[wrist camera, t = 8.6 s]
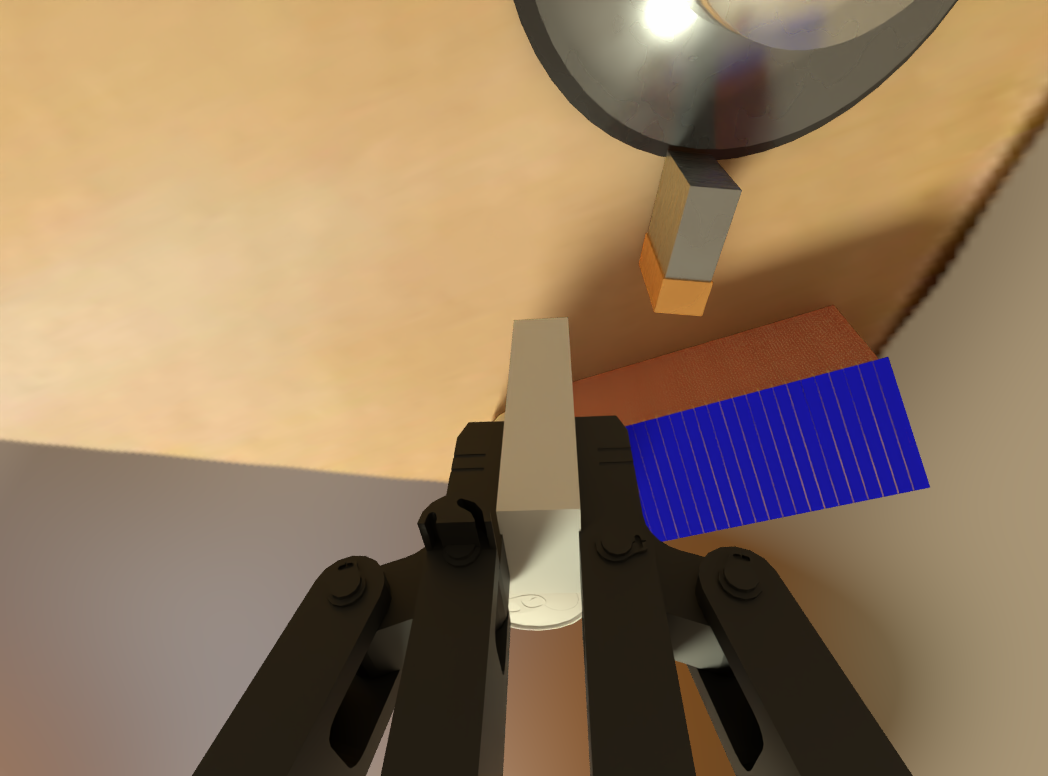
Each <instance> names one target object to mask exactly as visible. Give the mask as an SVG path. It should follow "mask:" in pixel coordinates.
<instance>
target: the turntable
mask: <svg viewBox="0 0 1048 776" xmlns="http://www.w3.org/2000/svg"><path fill="white" fill-rule="evenodd" d="M954 2H955V0H914V1H913V2H912V3H910V4H909V5H908V6H907V7H906V8H904V9H903V10H902V11H900V12H899V13H897V14H896V15H895V16H893V17H892V18H890V19H889V20H887V21H886V22H884V23H883V24H881V25H879V26H877V27H875V28H874V29H872V30H870V31H868V32H866V33H865V34H863V35H860V36H858V37H855V38H853V39H851V40H848V41H846V42H843V43H839V44H836V45H832V46H829V47H825V48H818V49H811V50H785V49H779V48H773V47H769V46H766V45H763V44H761V43H758V42H755V41H752V40H750V39H748V38H745V37H743V36H740V35H738V34H735V33H733V32H730V31H728V30H725V29H723V28H720V27H718V26H715V25H713V24H711V23H710V22H708V21H706V20H704V19H702V18H701V17H700V16H698V15H697V14H696V13H695V12H693V11H692V10H691V9H690V8H689V7H688V6H687V5H686V3H685V2H684V1H683V0H536V4H537V7H538V10H539V13H540V16H541V18H542V21H543V23H544V25H545V27H546V30H547V32H548V34H549V36H550V39H551V41H552V43H553V45H554V47H555V49H556V50H557V52H558V54H559V55H560V57H561V59H562V60H563V62H564V64H565V65H566V67H567V69H568V70H569V72H570V73H571V74H572V76H573V77H574V78H575V79H576V81H577V82H578V83H579V84H580V86H581V87H582V88H583V90H584V91H585V92H586V93H587V94H588V95H589V96H590V97H591V98H592V99H593V100H594V101H595V102H596V103H597V104H598V105H599V106H600V107H601V108H603V109H604V110H605V111H606V112H607V113H608V114H610V115H611V116H613V117H614V118H616V119H617V120H618V121H620V122H621V123H623V124H624V125H626V126H627V127H629V128H631V129H633V130H635V131H637V132H639V133H641V134H643V135H645V136H647V137H649V138H653V139H656V140H659V141H662V142H665V143H668V144H671V145H676V146H682V147H688V148H695V149H729V148H738V147H746V146H751V145H755V144H760V143H764V142H768V141H772V140H775V139H778V138H781V137H783V136H786V135H789V134H791V133H794V132H797V131H799V130H802V129H804V128H806V127H808V126H810V125H812V124H814V123H816V122H818V121H820V120H822V119H824V118H826V117H828V116H830V115H831V114H833V113H834V112H836V111H838V110H839V109H841V108H842V107H844V106H845V105H847V104H849V103H850V102H852V101H853V100H855V99H857V98H858V97H859V96H860V95H862V94H863V93H864V92H866V91H867V90H868V89H869V88H871V87H872V86H873V85H875V84H876V83H877V82H878V81H880V80H881V79H882V78H884V77H885V76H886V75H887V74H888V73H889V72H890V71H891V70H892V69H894V68H895V67H896V66H897V65H898V64H899V63H900V62H901V61H902V60H903V59H904V58H905V57H906V56H908V55H909V54H910V53H911V52H912V51H913V50H914V49H915V48H916V46H917V45H918V44H919V43H920V42H921V41H922V40H923V39H924V38H925V37H926V35H927V34H928V33H929V32H930V31H931V30H932V29H933V28H934V27H935V26H936V24H937V23H938V22H939V21H940V20H941V18H942V17H943V16H944V15H945V13H946V12H947V11H948V9H949V8H950V7H951V6H952V4H953V3H954ZM741 192H742V190H741V189H740V188H739V187H738V185H737V184H736V183H735V182H734V181H733V180H732V178H731V177H730V176H729V175H728V174H727V173H726V171H725V170H724V169H723V168H722V167H721V166H720V164H719V163H718V162H717V161H716V160H715V158H714V157H713V156H712V155H711V154H703V153H692V152H680V151H669V150H667V154H666V158H665V162H664V166H663V170H662V175H661V179H660V183H659V187H658V192H657V196H656V200H655V204H654V208H653V213H652V217H651V221H650V225H649V229H648V233H646V235H645V239H644V243H643V248H642V252H641V256H640V260H639V266H640V269H641V272H642V275H643V278H644V282H645V285H646V288H647V291H648V294H649V297H650V301H651V304H652V307H653V310H654V312H656V313H668V314H681V315H693V316H702V314H703V311H704V308H705V306H706V303H707V300H708V297H709V294H710V291H711V288H712V285H713V282H712V277H713V274H714V271H715V268H716V265H717V262H718V259H719V256H720V253H721V251H722V248H723V245H724V242H725V239H726V236H727V233H728V230H729V227H730V224H731V221H732V218H733V215H734V212H735V209H736V206H737V203H738V200H739V198H740V195H741Z"/></svg>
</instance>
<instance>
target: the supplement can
mask: <svg viewBox="0 0 1048 776" xmlns="http://www.w3.org/2000/svg"><path fill="white" fill-rule="evenodd" d="M504 420H505V412H504V413H502V414H501V415H499V416H498V417H497V418H496V420H495V421H504ZM508 608H509V614H510V620H511V626H510V627H512V628H517V629H522V630H549V629H557V628H560V627H564V626H567V625H570V624H573V623H574V622H576V621H577V620H579V619H580V618H582V602H581V593H546V594H511V591H510V588H509V604H508Z"/></svg>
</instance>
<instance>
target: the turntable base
mask: <svg viewBox="0 0 1048 776" xmlns="http://www.w3.org/2000/svg"><path fill="white" fill-rule="evenodd" d="M957 1H958V0H955V2H954V3H953V4H952V6H951V7H950V8H949V9H948V11H947V12H946V13H945V15H944V16H943V17H942V18H941V20H940V21H939V22H938V23H937V24H936V26H935V27H934V28H933V29H932V30H931V31H930V32H929V33H928V34H927V35H926V37H925V38H924V39H923V40H922V41H921V42H920V43H919V44H918V45H917V46H916V48H915V49H914V50H913V51H912V52H911V53H910V54H909V55H908V56H906V57H905V58H904V59H903V60H902V61H901V62H900V63H899V64H898V65H897V66H896V67H895V68H894V69H892V70H891V71H890V72H889V73H888V74H887V75H886V76H885V77H884V78H882V79H881V80H880V81H878V82H877V83H876V84H875V85H873V86H872V87H871V88H869V89H868V90H867V91H866V92H864V93H863V94H862V95H860V96H859V97H858V98H857V99H855V100H853V101H852V102H850V103H849V104H847V105H845V106H844V107H842V108H841V109H839V110H838V111H836V112H834V113H833V114H831V115H830V116H828V117H826V118H824V119H822V120H820V121H818V122H816V123H814V124H812V125H810V126H808V127H806V128H804V129H802V130H799V131H797V132H794V133H791V134H789V135H786V136H783V137H781V138H778V139H775V140H772V141H768V142H764V143H760V144H755V145H751V146H746V147H738V148H729V149H695V148H688V147H682V146H676V145H671V144H668V143H665V142H662V141H659V140H656V139H653V138H649V137H647V136H645V135H643V134H641V133H639V132H637V131H635V130H633V129H631V128H629V127H627V126H626V125H624V124H623V123H621V122H620V121H618V120H617V119H616V118H614V117H613V116H611V115H610V114H608V113H607V112H606V111H605V110H604V109H603V108H601V107H600V106H599V105H598V104H597V103H596V102H595V101H594V100H593V99H592V98H591V97H590V96H589V95H588V94H587V93H586V92H585V91H584V90H583V88H582V87H581V86H580V84H579V83H578V82H577V81H576V79H575V78H574V77H573V76H572V74H571V73H570V72H569V70H568V69H567V67H566V65H565V64H564V62H563V60H562V59H561V57H560V55H559V54H558V52H557V50H556V49H555V47H554V45H553V43H552V41H551V39H550V36H549V34H548V32H547V30H546V27H545V25H544V23H543V21H542V18H541V16H540V13H539V10H538V7H537V4H536V0H514V3H515V6H516V9H517V12H518V15H519V18H520V21H521V24H522V26H523V28H524V30H525V33H526V35H527V37H528V39H529V41H530V43H531V46H532V48H533V50H534V52H535V54H536V56H537V57H538V59H539V61H540V62H541V64H542V65H543V67H544V69H545V70H546V72H547V73H548V75H549V77H550V78H551V80H552V81H553V82H554V84H555V85H556V86H557V87H558V89H559V90H560V91H561V92H562V93H563V95H564V96H565V97H566V98H567V100H568V101H569V102H570V103H571V104H572V105H573V106H574V107H575V108H576V109H577V110H578V111H579V112H580V113H582V114H583V115H584V116H585V117H586V118H587V119H588V120H589V121H590V122H591V123H593V124H594V125H596V126H597V127H599V128H600V129H602V130H603V131H604V132H606V133H607V134H609V135H610V136H612V137H614V138H616V139H618V140H620V141H622V142H624V143H626V144H628V145H630V146H632V147H634V148H636V149H639V150H642V151H645V152H649V153H652V154H655V155H658V156H663V157H666V154H667V150H669V151H680V152H692V153H703V154H711V155H712V156H713V157H714V158H715V160H722V159H731V158H739V157H743V156H747V155H751V154H755V153H760V152H764V151H767V150H770V149H772V148H775V147H778V146H780V145H783V144H786V143H789V142H791V141H794V140H796V139H798V138H800V137H802V136H804V135H806V134H808V133H810V132H812V131H814V130H816V129H818V128H820V127H822V126H823V125H825V124H827V123H828V122H830V121H831V120H833V119H835V118H836V117H838V116H839V115H841V114H843V113H844V112H846V111H847V110H849V109H850V108H852V107H853V106H854V105H856V104H857V103H858V102H859V101H861V100H862V99H863V98H865V97H866V96H867V95H869V94H870V93H871V92H872V91H874V90H875V89H876V88H878V87H879V86H880V85H881V84H882V83H883V82H884V81H885V80H886V79H888V78H889V77H890V76H891V75H892V74H893V73H894V72H895V71H896V70H897V69H898V68H900V67H901V66H902V65H903V64H904V63H905V62H906V61H907V60H908V59H909V58H910V57H911V56H912V54H913V53H914V52H915V51H916V50H917V49H918V48H919V47H920V46H921V45H922V44H923V43H924V41H925V40H926V39H927V38H928V37H929V36H930V35H931V34H932V33H933V32H934V30H935V29H936V28H937V27H938V25H939V24H940V23H941V21H942V20H943V19H944V18H945V16H946V15H947V14H948V12H949V11H950V10H951V9H952V7H953V6H954V5H955V3H956V2H957Z"/></svg>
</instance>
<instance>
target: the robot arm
mask: <svg viewBox="0 0 1048 776" xmlns="http://www.w3.org/2000/svg"><path fill="white" fill-rule="evenodd" d="M451 470H452V471H451V473H450V478H449V484H448V489H447V494H446V496H444V497H442V498H440V499H438V500H436V501H434V502H432V503H431V504H430V505H429V506H428V507H427V508H426V509H425V510H424V511H423V512H422V514H421V517H420V519H419V521H418V523H417V524H418V527H419V530H420V533H421V536H422V539H423V542H424V545H425V547H424V548H423V549H421V550H420V551H418V552H417V553H415V554H413V555H410V556H408V557H406V558H402V559H400V560H397V561H393V562H390V563H387V564H384V565H381V566H380V565H379V564H378V563H377V561H375V560H373V559H371V558H368V557H366V556H351V557H348V558H344V559H341V560H338V561H337V562H335V563H334V564H332V565H331V566H329V567H328V568H326V569H325V570H324V571H323V572H322V574H321V575H320V576H319V577H318V578H317V580H316V581H315V582H314V584H313V585H312V587H311V589H310V590H309V592H308V593H307V595H306V596H305V598H304V600H303V601H302V603H301V604H300V606H299V608H298V609H297V611H296V612H295V614H294V615H293V617H292V619H291V620H290V622H289V623H288V625H287V627H286V628H285V630H284V631H283V633H282V634H281V636H280V638H279V639H278V641H277V642H276V644H275V645H274V647H273V649H272V650H271V652H270V653H269V655H268V656H267V658H266V660H265V661H264V663H263V664H262V666H261V668H260V669H259V671H258V673H257V674H256V676H255V677H254V679H253V680H252V682H251V683H250V685H249V686H248V688H247V690H246V691H245V693H244V694H243V696H242V697H241V699H240V701H239V702H238V704H237V705H236V707H235V709H234V710H233V712H232V713H231V715H230V716H229V718H228V720H227V721H226V723H225V724H224V726H223V727H222V729H221V731H220V732H219V734H218V735H217V737H216V739H215V740H214V742H213V743H212V745H211V746H210V748H209V750H208V751H207V753H206V754H205V756H204V757H203V759H202V761H201V762H200V764H199V765H198V767H197V768H196V770H195V772H194V773H193V775H192V776H366V774H367V772H368V769H369V767H370V764H371V762H372V760H373V757H374V755H375V753H376V750H377V748H378V745H379V743H380V741H381V738H382V736H383V734H384V731H385V729H386V726H387V724H388V722H389V719H390V717H391V714H392V712H393V710H394V713H393V718H392V723H391V728H390V733H389V738H388V743H387V747H386V753H385V757H384V762H383V767H382V772H381V776H503V762H504V743H505V723H506V704H507V685H508V664H509V646H510V645H509V644H510V626H511V620H510V614H509V608H508V604H509V588H510V591H511V594H546V593H581V602H582V631H583V646H584V665H585V683H586V702H587V719H588V740H589V759H590V776H696V773H695V767H694V762H693V757H692V751H691V746H690V741H689V735H688V730H687V724H686V719H685V713H684V708H683V703H682V697H681V692H680V687H679V681H678V675H677V670H676V666H675V660H676V661H679V662H682V663H685V664H687V666H688V668H689V671H690V673H691V675H692V678H693V680H694V682H695V684H696V686H697V689H698V691H699V693H700V696H701V698H702V700H703V702H704V705H705V707H706V709H707V711H708V714H709V716H710V718H711V720H712V722H713V725H714V727H715V729H716V732H717V734H718V736H719V739H720V741H721V743H722V745H723V748H724V750H725V752H726V754H727V757H728V759H729V761H730V763H731V766H732V768H733V770H734V772H735V775H736V776H912V774H911V772H910V771H909V769H908V768H907V766H906V765H905V763H904V762H903V761H902V759H901V757H900V756H899V754H898V753H897V751H896V750H895V749H894V747H893V745H892V744H891V742H890V741H889V740H888V738H887V736H886V735H885V733H884V732H883V730H882V729H881V728H880V726H879V724H878V723H877V722H876V720H875V718H874V717H873V716H872V714H871V712H870V711H869V710H868V708H867V707H866V705H865V704H864V702H863V701H862V699H861V698H860V696H859V695H858V693H857V692H856V690H855V689H854V687H853V686H852V684H851V683H850V681H849V680H848V678H847V677H846V675H845V674H844V672H843V671H842V669H841V668H840V666H839V665H838V663H837V662H836V660H835V659H834V657H833V656H832V654H831V653H830V651H829V650H828V648H827V647H826V645H825V644H824V642H823V641H822V639H821V638H820V636H819V635H818V633H817V632H816V630H815V629H814V627H813V626H812V624H811V623H810V621H809V620H808V618H807V617H806V615H805V614H804V612H803V611H802V609H801V608H800V606H799V605H798V603H797V602H796V600H795V599H794V597H793V596H792V594H791V593H790V591H789V590H788V588H787V587H786V585H785V584H784V582H783V581H782V579H781V578H780V576H779V575H778V573H777V572H776V571H775V569H774V568H773V567H772V566H771V565H770V564H769V563H768V562H767V561H766V560H765V559H764V558H762V557H761V556H759V555H757V554H755V553H754V552H752V551H750V550H746V549H742V548H738V547H720V548H718V549H716V550H714V551H712V552H710V553H708V554H707V555H706V556H705V557H702V556H699V555H695V554H691V553H688V552H684V551H680V550H678V549H675V548H672V547H670V546H668V545H666V544H664V543H663V542H661V541H660V540H659V539H658V538H656V537H655V536H654V535H653V534H652V533H651V531H650V530H649V528H648V527H647V525H646V523H645V520H644V517H643V512H642V507H641V501H640V496H639V490H638V484H637V479H636V473H635V468H634V464H633V457H632V451H631V445H630V440H629V434H628V430H627V428H626V427H625V426H624V425H623V423H622V422H621V421H620V420H619V418H618V417H617V416H616V415H611V416H586V417H574V401H573V386H572V370H571V355H570V339H569V324H568V317H562V318H543V319H525V320H514V323H513V334H512V345H511V356H510V366H509V377H508V388H507V399H506V409H505V420H504V421H494V422H469V423H468V424H467V425H466V427H465V428H464V429H463V431H462V432H461V433H460V435H459V436H458V437H457V442H456V447H455V452H454V458H453V463H452V468H451ZM394 707H395V708H394Z"/></svg>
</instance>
